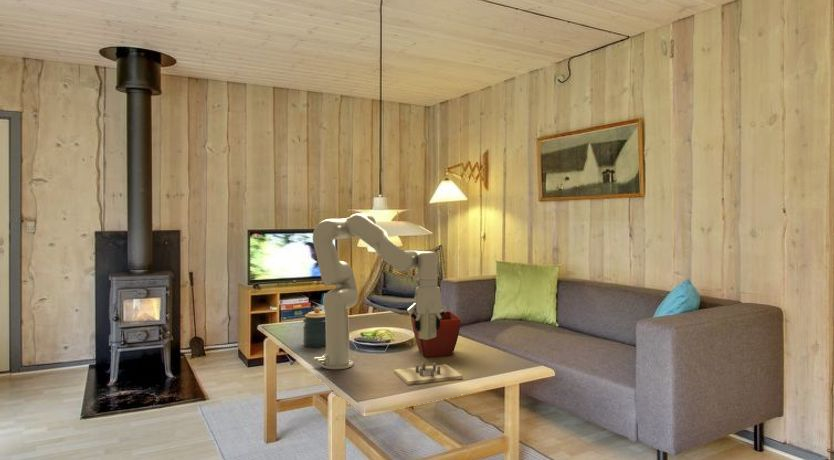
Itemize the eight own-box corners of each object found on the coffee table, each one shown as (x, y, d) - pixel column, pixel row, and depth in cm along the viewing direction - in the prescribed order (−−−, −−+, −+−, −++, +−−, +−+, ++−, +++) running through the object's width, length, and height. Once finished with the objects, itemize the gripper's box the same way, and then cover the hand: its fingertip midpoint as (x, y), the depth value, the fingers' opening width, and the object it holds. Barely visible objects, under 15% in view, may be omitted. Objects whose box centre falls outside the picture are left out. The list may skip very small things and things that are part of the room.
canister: (298, 344, 255) (298, 307, 255) (323, 340, 263) (322, 304, 263) (310, 349, 245) (310, 311, 244) (335, 345, 253) (335, 308, 252)
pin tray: (407, 384, 194) (407, 374, 194) (394, 372, 209) (394, 363, 209) (462, 378, 202) (462, 368, 202) (446, 367, 217) (446, 358, 217)
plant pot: (418, 360, 228) (418, 320, 227) (410, 348, 247) (410, 312, 246) (461, 357, 232) (461, 319, 231) (450, 347, 250) (450, 311, 250)
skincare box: (427, 335, 209) (428, 304, 209) (436, 337, 206) (437, 305, 206) (417, 338, 204) (417, 306, 204) (426, 340, 201) (427, 308, 201)
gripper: (409, 285, 198) (409, 333, 199) (452, 283, 204) (452, 330, 205) (402, 283, 205) (402, 329, 206) (444, 281, 211) (444, 326, 212)
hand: (427, 329), depth 205 cm, fingers closed on skincare box, 7 cm apart
